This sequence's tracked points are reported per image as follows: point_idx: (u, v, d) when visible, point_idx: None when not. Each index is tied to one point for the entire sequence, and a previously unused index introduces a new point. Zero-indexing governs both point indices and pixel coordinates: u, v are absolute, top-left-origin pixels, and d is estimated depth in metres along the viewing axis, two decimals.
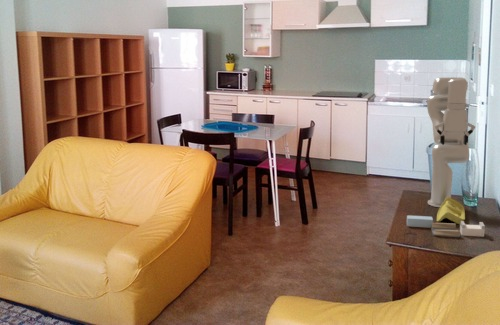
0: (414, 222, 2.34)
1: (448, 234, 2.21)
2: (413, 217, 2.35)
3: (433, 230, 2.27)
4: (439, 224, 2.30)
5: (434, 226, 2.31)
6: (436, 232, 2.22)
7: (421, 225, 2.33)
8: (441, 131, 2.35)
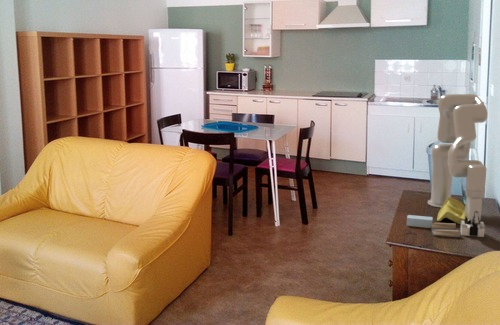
0: (413, 222, 2.34)
1: (448, 234, 2.21)
2: (413, 217, 2.36)
3: (433, 230, 2.27)
4: (439, 224, 2.30)
5: (434, 226, 2.31)
6: (436, 232, 2.22)
7: (420, 225, 2.34)
8: (471, 223, 2.19)
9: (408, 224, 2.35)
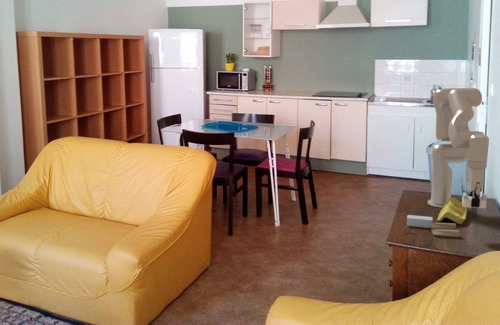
0: (413, 222, 2.34)
1: (448, 234, 2.21)
2: (413, 217, 2.36)
3: (433, 230, 2.27)
4: (439, 224, 2.30)
5: (434, 226, 2.31)
6: (436, 232, 2.22)
7: (420, 225, 2.33)
8: (473, 194, 2.17)
9: (408, 224, 2.35)
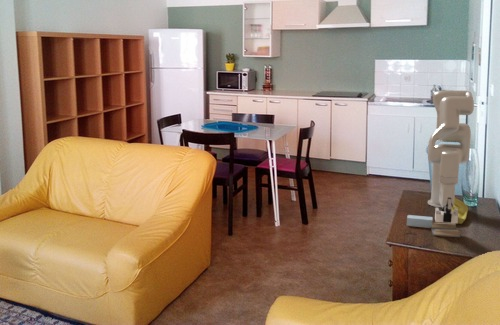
0: (413, 222, 2.34)
1: (448, 234, 2.21)
2: (413, 217, 2.36)
3: (433, 230, 2.27)
4: (439, 224, 2.30)
5: (434, 226, 2.31)
6: (436, 232, 2.22)
7: (420, 225, 2.33)
8: (445, 210, 2.20)
9: (408, 224, 2.35)
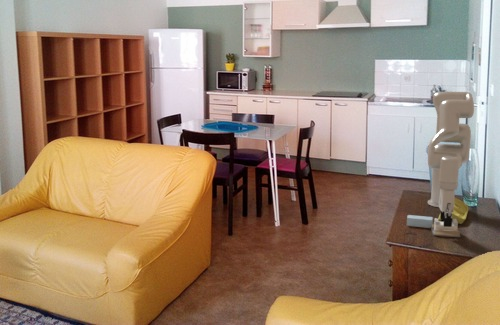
0: (414, 222, 2.34)
1: (448, 234, 2.21)
2: (413, 217, 2.36)
3: (433, 230, 2.27)
4: None
5: None
6: (436, 232, 2.22)
7: (420, 225, 2.33)
8: (445, 214, 2.19)
9: (408, 224, 2.35)
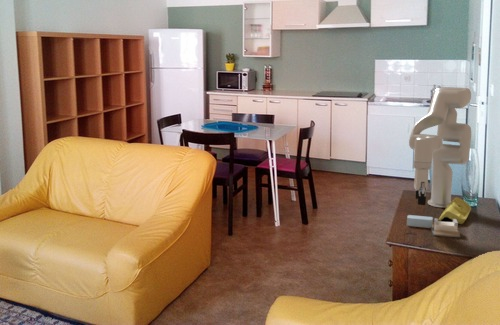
0: (414, 222, 2.34)
1: (448, 234, 2.21)
2: (413, 217, 2.36)
3: (433, 230, 2.27)
4: None
5: None
6: (436, 232, 2.22)
7: (421, 225, 2.33)
8: (419, 192, 2.27)
9: (408, 224, 2.35)
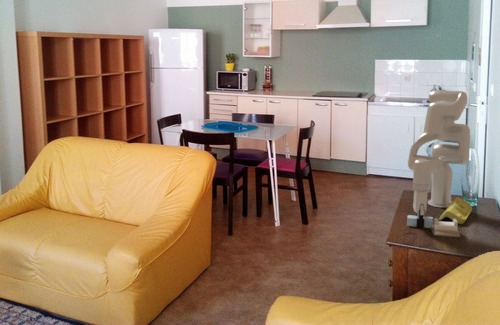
0: (414, 222, 2.34)
1: (448, 234, 2.21)
2: (413, 217, 2.36)
3: (433, 230, 2.27)
4: None
5: None
6: (436, 232, 2.22)
7: None
8: (418, 215, 2.31)
9: (408, 224, 2.35)
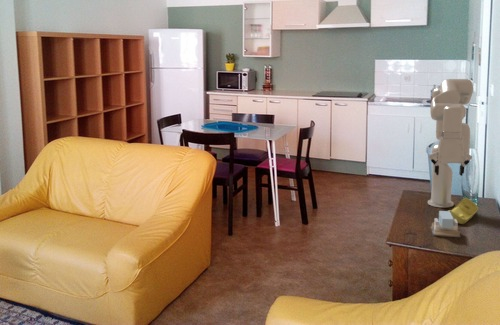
0: None
1: (448, 234, 2.21)
2: (448, 217, 2.22)
3: (433, 230, 2.27)
4: None
5: None
6: (436, 232, 2.22)
7: None
8: (463, 162, 2.17)
9: None
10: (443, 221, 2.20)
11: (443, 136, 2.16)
